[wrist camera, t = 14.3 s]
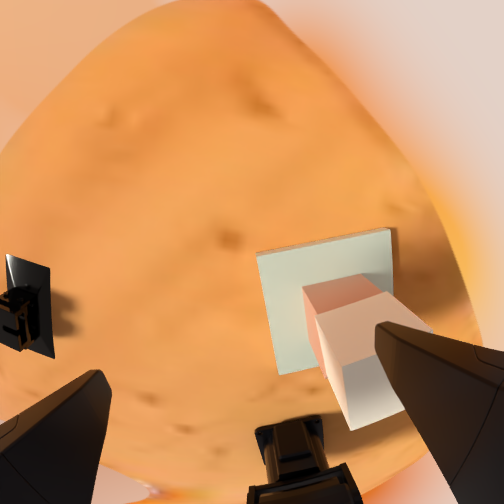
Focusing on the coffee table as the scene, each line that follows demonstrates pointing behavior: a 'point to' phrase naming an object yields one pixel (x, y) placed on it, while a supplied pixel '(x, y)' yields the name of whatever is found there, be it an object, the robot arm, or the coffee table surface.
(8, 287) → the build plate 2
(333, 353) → the cream brick
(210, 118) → the coffee table surface
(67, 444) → the robot arm
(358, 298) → the terracotta brick
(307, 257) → the plate
